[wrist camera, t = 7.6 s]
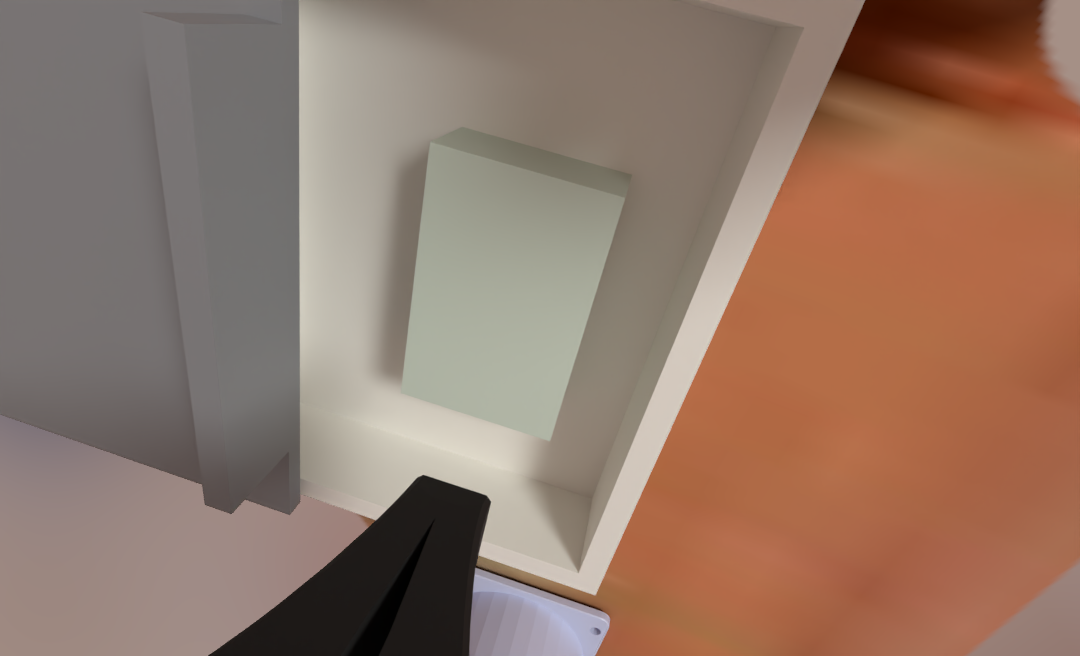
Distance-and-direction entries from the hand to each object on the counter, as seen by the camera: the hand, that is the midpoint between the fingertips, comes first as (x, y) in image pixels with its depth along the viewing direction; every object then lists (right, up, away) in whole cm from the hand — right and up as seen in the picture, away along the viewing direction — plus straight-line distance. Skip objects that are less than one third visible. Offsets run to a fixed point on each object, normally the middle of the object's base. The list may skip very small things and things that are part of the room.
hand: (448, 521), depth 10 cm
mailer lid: (-12, +7, +5) cm, 15 cm away
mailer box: (0, +6, +8) cm, 10 cm away
